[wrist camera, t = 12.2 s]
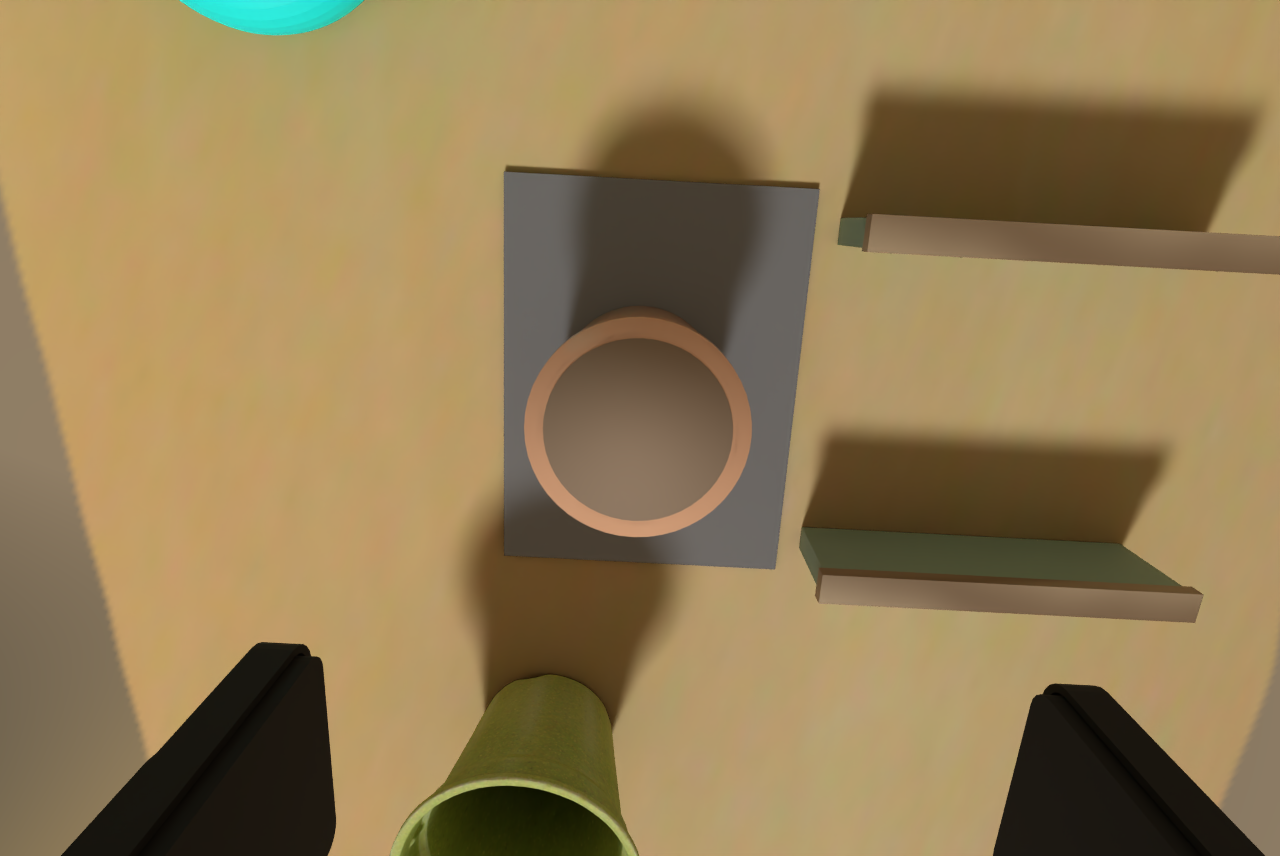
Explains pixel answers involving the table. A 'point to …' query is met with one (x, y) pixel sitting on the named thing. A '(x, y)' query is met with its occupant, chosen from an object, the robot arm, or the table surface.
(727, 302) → the mat
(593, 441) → the seedling pot
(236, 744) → the robot arm
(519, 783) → the plant pot
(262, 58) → the table surface
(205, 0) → the teal small pieces
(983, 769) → the table surface
